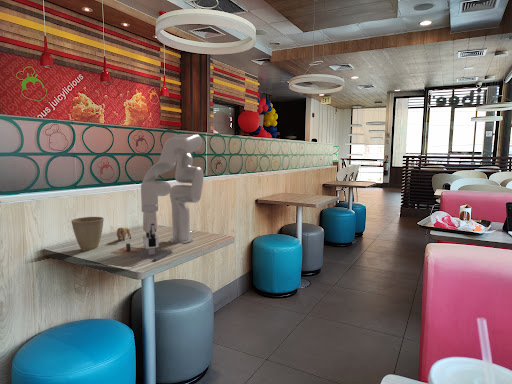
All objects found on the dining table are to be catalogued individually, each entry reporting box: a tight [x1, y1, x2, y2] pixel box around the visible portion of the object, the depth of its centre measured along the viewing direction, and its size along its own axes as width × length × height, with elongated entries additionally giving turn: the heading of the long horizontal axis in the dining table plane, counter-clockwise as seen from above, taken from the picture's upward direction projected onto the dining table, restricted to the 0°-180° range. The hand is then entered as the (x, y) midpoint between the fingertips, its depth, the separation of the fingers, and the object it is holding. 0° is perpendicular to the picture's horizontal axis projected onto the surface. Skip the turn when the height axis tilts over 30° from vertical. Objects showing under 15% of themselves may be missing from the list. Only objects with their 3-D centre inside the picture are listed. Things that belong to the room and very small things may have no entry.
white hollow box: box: [142, 233, 160, 250], centre depth 167 cm, size 6×6×5 cm
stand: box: [111, 242, 146, 256], centre depth 172 cm, size 12×12×4 cm
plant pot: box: [71, 216, 105, 252], centre depth 178 cm, size 15×15×16 cm
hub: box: [130, 247, 173, 262], centre depth 167 cm, size 14×14×5 cm
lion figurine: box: [116, 227, 132, 242], centre depth 195 cm, size 15×5×9 cm, turn 5°
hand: (151, 244), depth 167 cm, fingers closed on white hollow box, 6 cm apart
